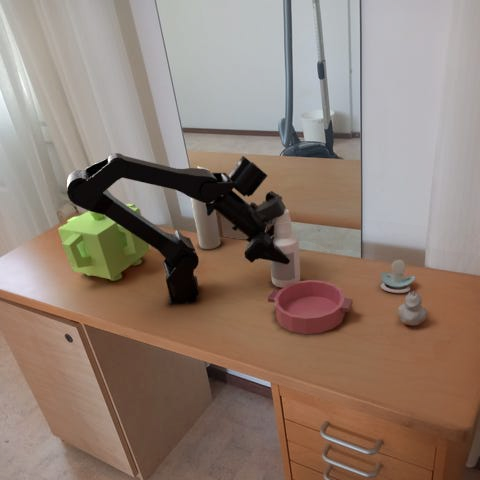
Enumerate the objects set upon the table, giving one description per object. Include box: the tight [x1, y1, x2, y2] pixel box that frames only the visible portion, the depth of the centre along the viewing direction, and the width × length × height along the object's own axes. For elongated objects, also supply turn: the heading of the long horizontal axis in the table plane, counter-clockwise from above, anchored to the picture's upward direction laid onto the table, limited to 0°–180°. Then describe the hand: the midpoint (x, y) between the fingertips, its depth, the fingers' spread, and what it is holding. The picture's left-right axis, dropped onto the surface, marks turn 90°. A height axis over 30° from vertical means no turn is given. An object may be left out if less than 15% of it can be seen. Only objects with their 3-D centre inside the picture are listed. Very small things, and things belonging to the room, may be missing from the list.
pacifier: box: [380, 259, 416, 294], centre depth 108 cm, size 7×6×6 cm
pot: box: [267, 279, 354, 335], centre depth 105 cm, size 18×15×4 cm
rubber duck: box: [397, 290, 428, 327], centre depth 97 cm, size 5×7×8 cm
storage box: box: [57, 203, 151, 282], centre depth 131 cm, size 25×23×17 cm
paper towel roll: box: [190, 165, 221, 250], centre depth 134 cm, size 7×6×21 cm
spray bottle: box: [269, 208, 301, 289], centre depth 113 cm, size 7×7×18 cm
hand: (290, 255), depth 113 cm, fingers closed on spray bottle, 7 cm apart
